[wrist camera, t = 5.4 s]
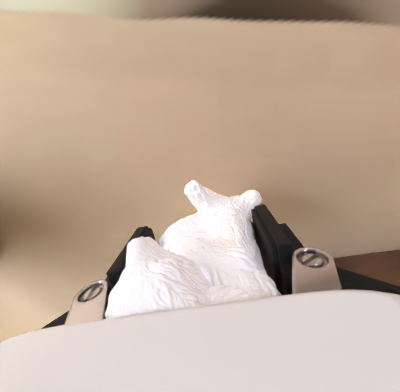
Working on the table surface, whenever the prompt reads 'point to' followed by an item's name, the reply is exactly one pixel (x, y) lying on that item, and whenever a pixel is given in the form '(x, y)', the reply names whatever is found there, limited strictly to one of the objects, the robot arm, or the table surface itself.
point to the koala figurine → (195, 259)
